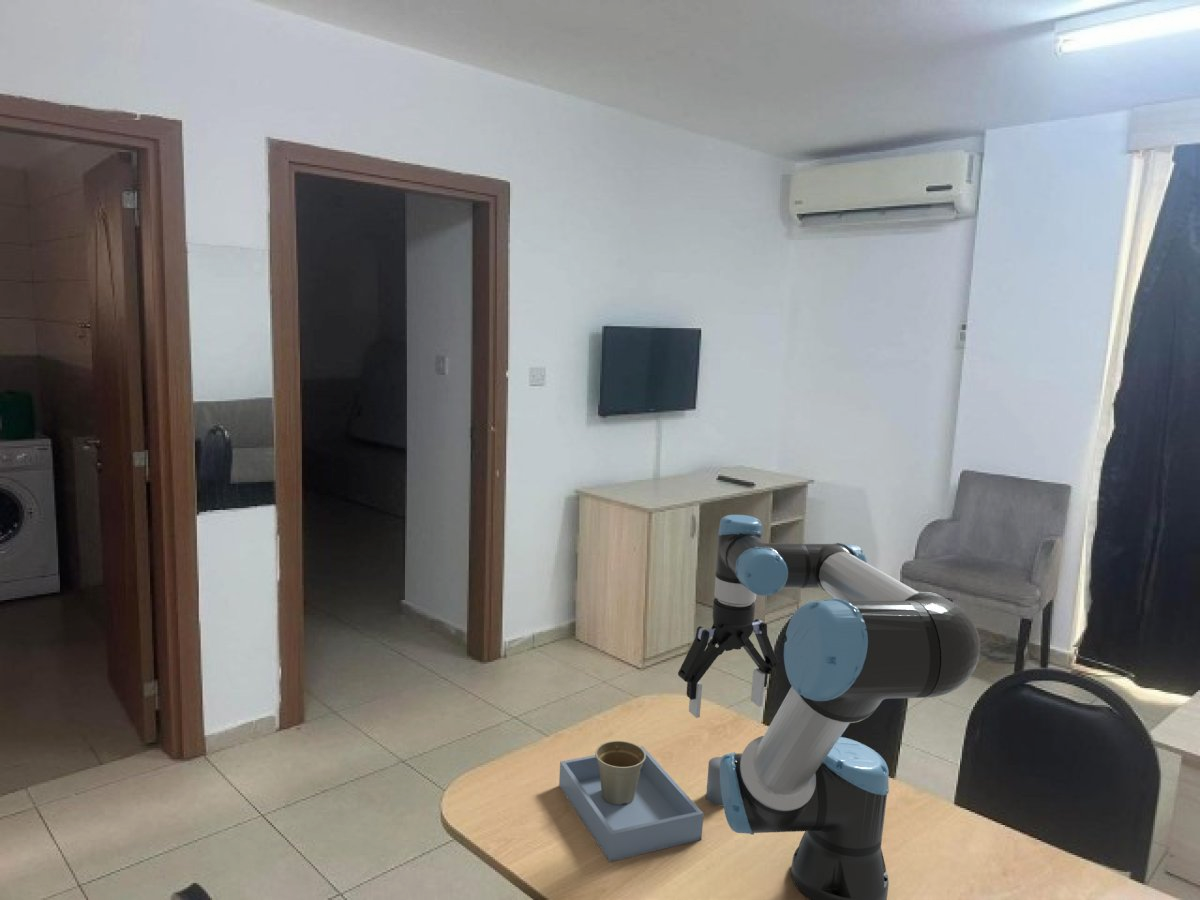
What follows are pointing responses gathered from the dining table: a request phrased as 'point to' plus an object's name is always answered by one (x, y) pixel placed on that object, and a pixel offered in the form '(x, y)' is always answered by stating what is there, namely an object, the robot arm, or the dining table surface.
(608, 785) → the flower pot
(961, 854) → the dining table surface
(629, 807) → the tote
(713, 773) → the canister
